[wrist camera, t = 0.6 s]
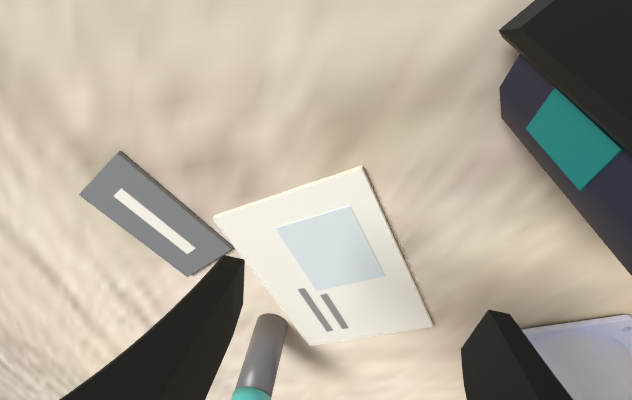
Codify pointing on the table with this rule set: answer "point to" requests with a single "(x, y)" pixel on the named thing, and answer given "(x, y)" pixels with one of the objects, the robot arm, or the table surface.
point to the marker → (261, 359)
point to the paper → (328, 259)
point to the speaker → (577, 106)
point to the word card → (154, 216)
